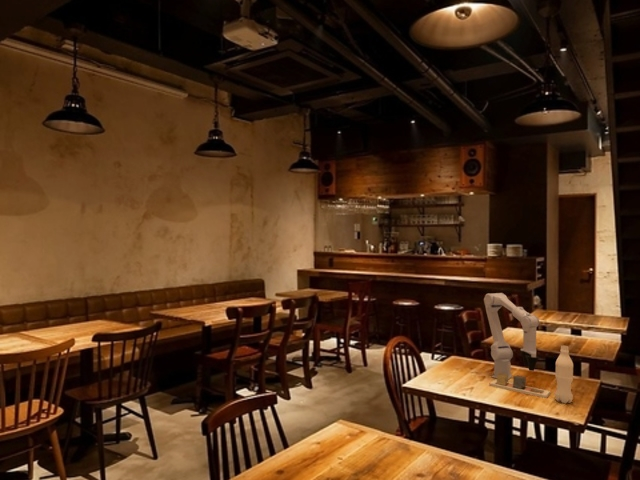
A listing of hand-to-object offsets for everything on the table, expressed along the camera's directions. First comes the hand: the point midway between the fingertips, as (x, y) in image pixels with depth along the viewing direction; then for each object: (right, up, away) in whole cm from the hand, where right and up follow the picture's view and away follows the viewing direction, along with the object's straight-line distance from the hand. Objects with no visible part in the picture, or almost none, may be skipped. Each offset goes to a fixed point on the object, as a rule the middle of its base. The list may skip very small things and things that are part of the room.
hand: (529, 368), depth 223 cm
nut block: (-6, -10, -2) cm, 11 cm away
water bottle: (+8, -10, -17) cm, 21 cm away
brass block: (-12, -10, +3) cm, 16 cm away
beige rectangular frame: (-6, -10, -2) cm, 11 cm away
